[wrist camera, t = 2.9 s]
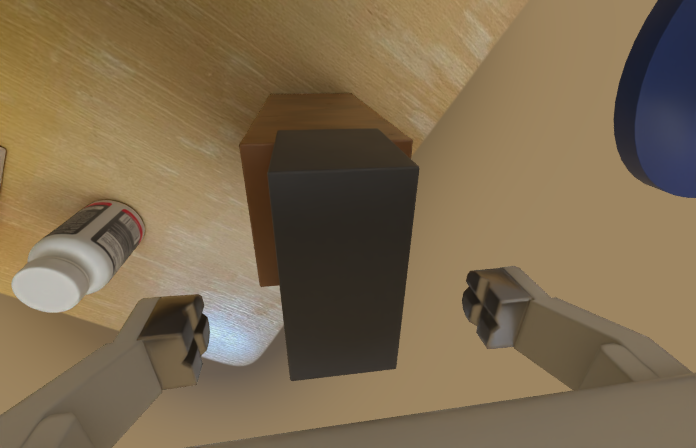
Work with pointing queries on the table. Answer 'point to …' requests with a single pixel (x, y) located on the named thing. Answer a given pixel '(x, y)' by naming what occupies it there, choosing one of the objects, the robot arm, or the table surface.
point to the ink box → (2, 161)
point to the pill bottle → (78, 256)
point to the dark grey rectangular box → (341, 247)
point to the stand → (260, 142)
